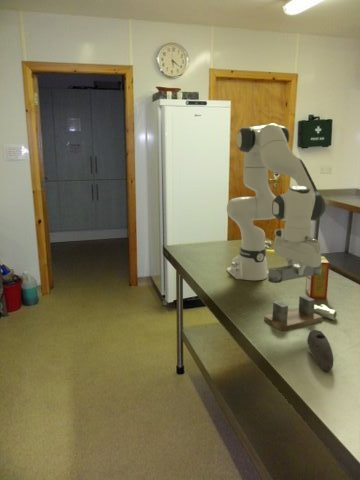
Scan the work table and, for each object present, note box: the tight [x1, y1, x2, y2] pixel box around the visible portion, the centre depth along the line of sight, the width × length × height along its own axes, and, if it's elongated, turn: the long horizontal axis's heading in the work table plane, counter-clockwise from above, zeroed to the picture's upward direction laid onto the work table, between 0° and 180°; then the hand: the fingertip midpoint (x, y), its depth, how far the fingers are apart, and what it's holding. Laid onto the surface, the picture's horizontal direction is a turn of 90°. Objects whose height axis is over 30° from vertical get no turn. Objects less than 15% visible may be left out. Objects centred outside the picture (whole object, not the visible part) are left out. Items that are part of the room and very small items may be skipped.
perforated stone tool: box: [307, 329, 334, 373], centre depth 108 cm, size 15×5×7 cm, turn 174°
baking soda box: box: [305, 255, 330, 300], centre depth 157 cm, size 10×6×16 cm
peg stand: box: [263, 294, 323, 332], centre depth 134 cm, size 10×18×8 cm, turn 114°
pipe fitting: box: [314, 303, 338, 321], centre depth 139 cm, size 8×4×7 cm
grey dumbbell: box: [267, 263, 322, 284], centre depth 131 cm, size 4×22×4 cm, turn 114°
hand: (295, 272), depth 131 cm, fingers closed on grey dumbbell, 3 cm apart
